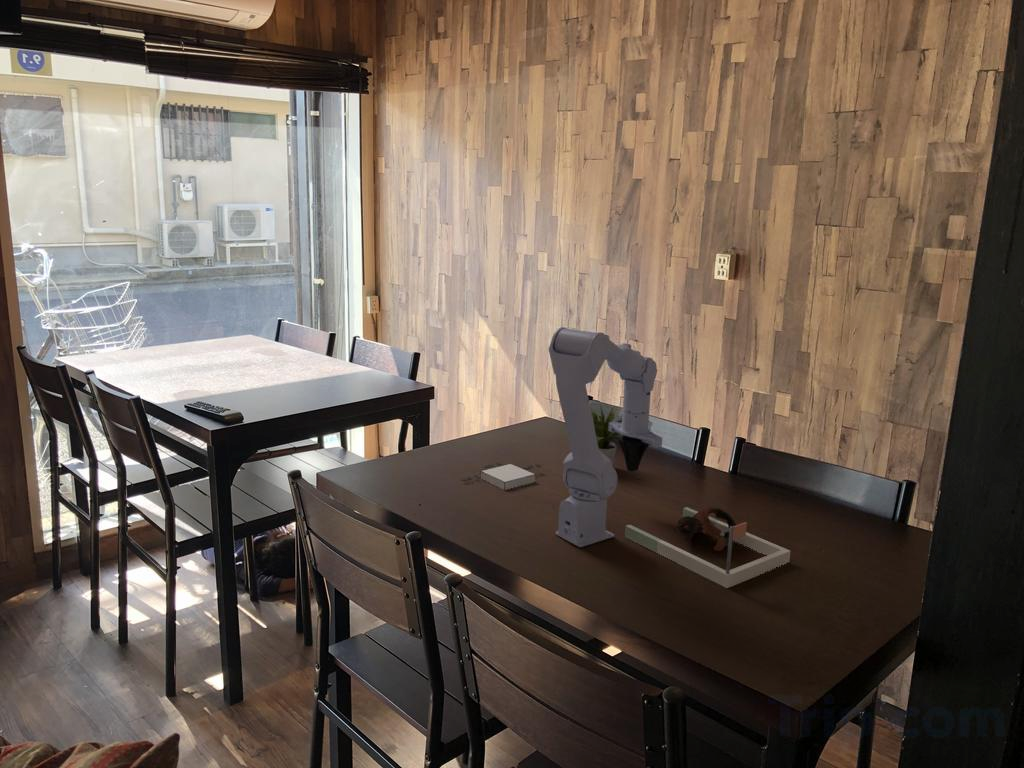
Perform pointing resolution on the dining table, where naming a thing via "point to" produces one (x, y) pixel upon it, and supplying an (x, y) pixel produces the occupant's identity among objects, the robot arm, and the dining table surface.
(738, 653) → the dining table surface
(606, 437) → the house plant
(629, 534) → the open rectangular rail frame
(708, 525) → the brown piece
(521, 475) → the container
